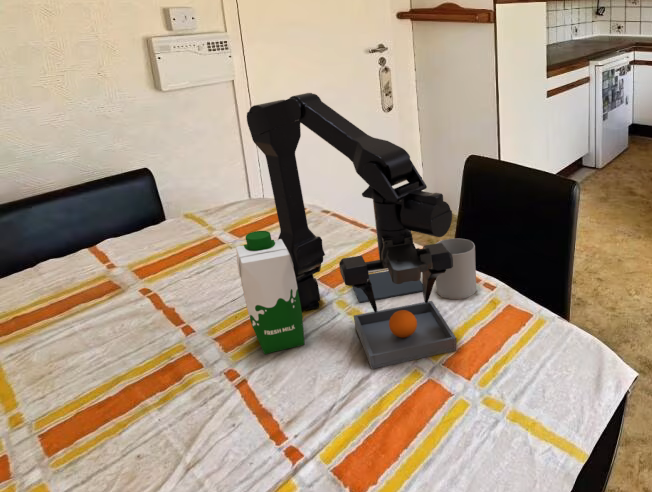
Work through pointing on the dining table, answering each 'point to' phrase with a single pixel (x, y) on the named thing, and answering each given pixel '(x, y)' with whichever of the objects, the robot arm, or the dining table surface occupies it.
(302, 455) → the dining table surface
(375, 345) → the shallow grey tray
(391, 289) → the mat
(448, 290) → the cup
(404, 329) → the ball
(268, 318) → the milk carton
